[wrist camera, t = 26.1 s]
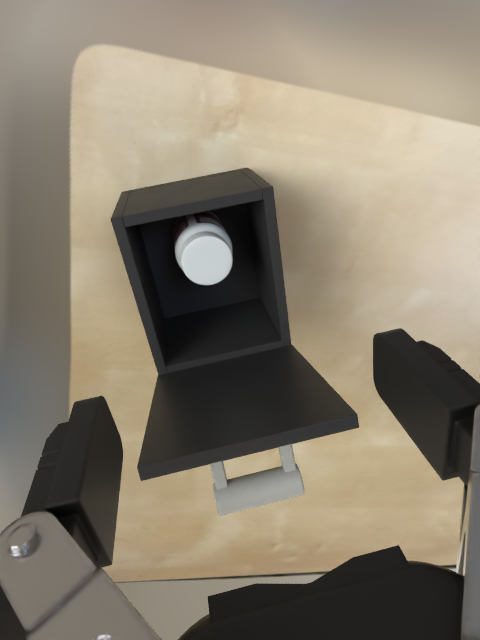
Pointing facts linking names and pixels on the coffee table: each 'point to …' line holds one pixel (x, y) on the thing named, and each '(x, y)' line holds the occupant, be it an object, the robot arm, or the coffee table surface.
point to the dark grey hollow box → (205, 300)
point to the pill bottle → (202, 247)
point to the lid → (241, 423)
